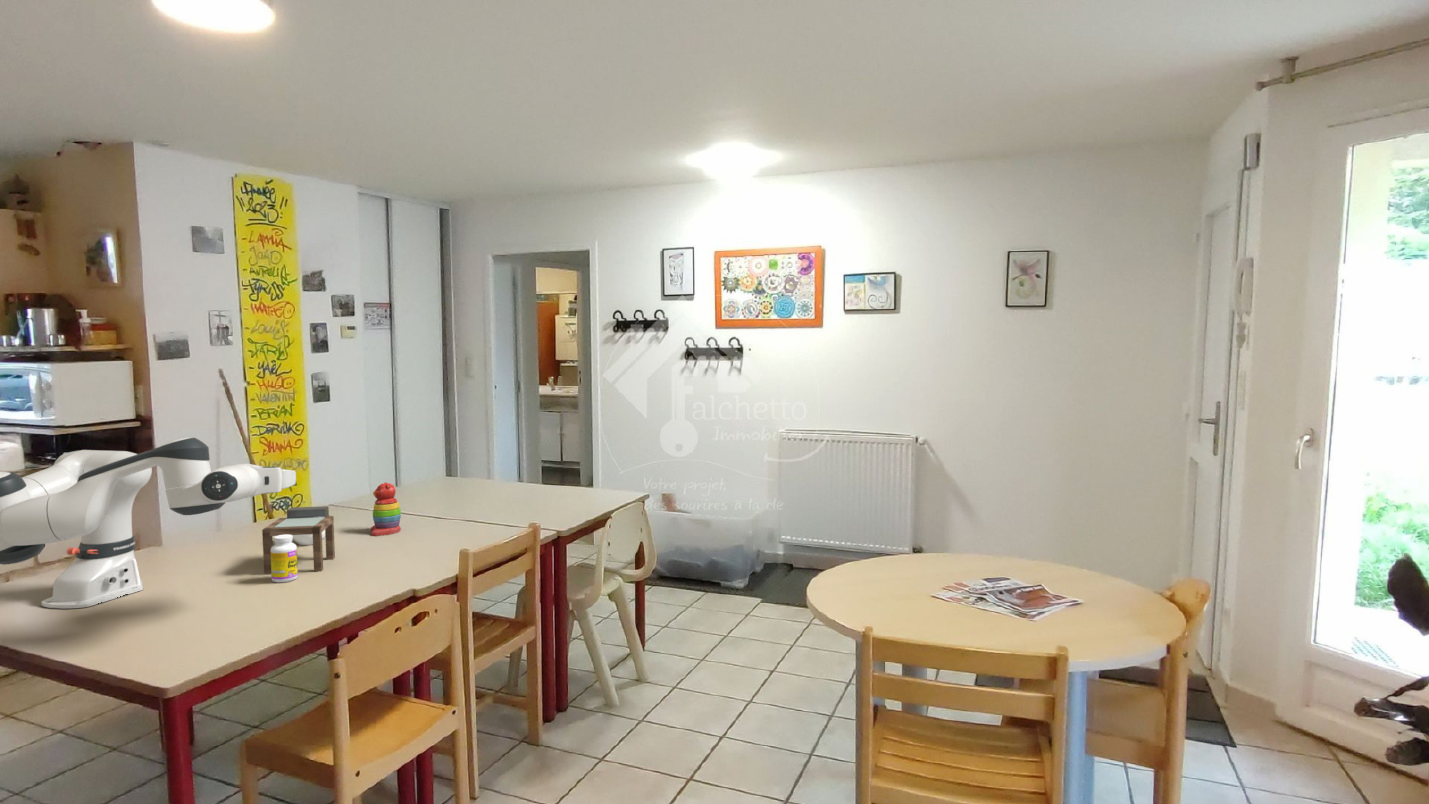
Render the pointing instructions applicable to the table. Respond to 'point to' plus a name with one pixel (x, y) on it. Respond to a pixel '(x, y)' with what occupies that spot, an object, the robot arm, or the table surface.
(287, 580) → the supplement bottle
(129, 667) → the table surface
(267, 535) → the miniature wooden table
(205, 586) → the table surface
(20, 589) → the table surface
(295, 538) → the lidded bowl
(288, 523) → the trapdoor
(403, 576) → the table surface
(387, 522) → the stacking bear
